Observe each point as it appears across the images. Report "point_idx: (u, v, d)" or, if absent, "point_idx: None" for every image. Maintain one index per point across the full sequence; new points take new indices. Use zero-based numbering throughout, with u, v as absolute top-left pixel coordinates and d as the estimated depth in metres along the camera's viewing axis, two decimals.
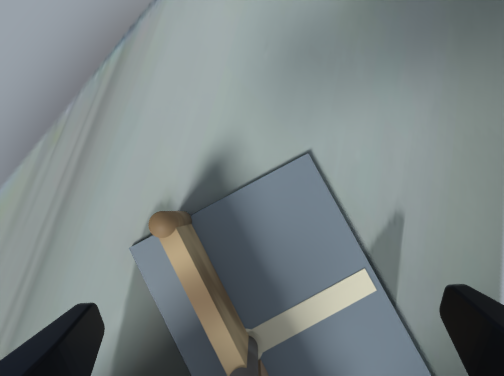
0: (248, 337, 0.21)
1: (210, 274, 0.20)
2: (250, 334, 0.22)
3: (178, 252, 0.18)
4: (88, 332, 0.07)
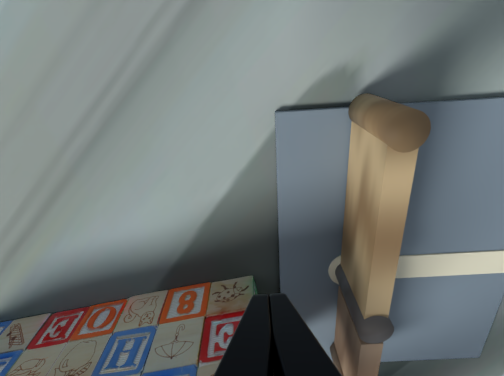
0: None
1: None
2: None
3: (400, 178, 0.12)
4: None
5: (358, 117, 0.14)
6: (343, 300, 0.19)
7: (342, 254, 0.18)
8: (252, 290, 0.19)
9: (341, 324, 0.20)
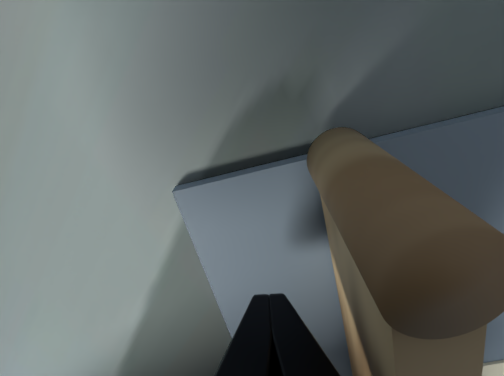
0: None
1: None
2: None
3: None
4: None
5: (320, 192, 0.06)
6: None
7: None
8: None
9: None
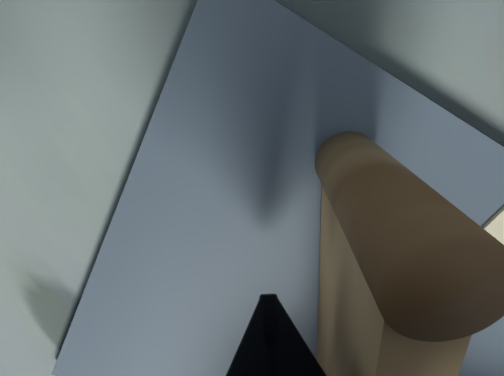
0: None
1: None
2: None
3: None
4: None
5: (327, 189, 0.06)
6: None
7: None
8: None
9: None
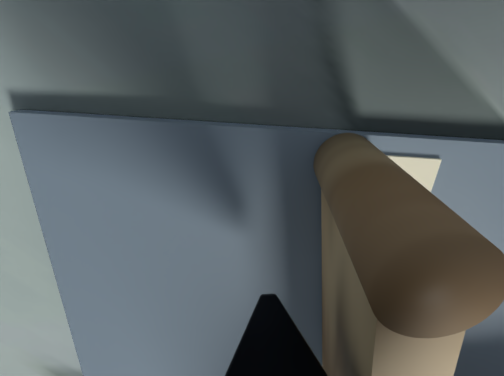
0: None
1: None
2: None
3: None
4: None
5: (324, 191, 0.06)
6: None
7: None
8: None
9: None
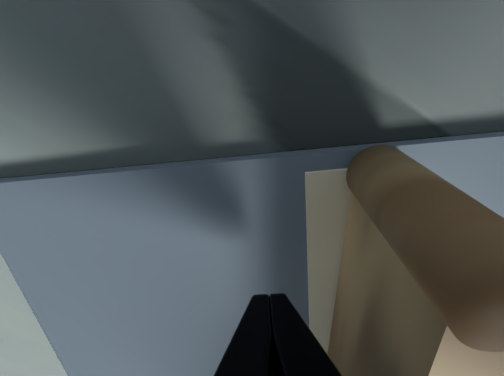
0: None
1: None
2: None
3: None
4: None
5: (366, 200, 0.06)
6: None
7: None
8: None
9: None
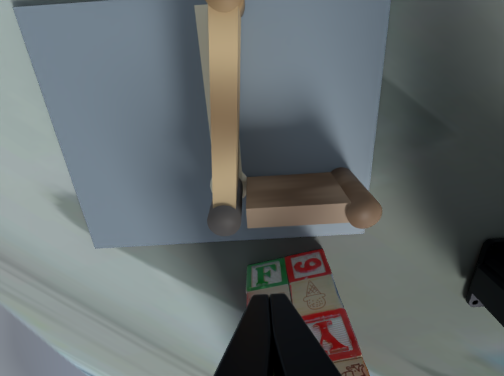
0: (238, 179, 0.19)
1: None
2: None
3: (225, 44, 0.12)
4: None
5: None
6: None
7: None
8: (246, 278, 0.22)
9: None
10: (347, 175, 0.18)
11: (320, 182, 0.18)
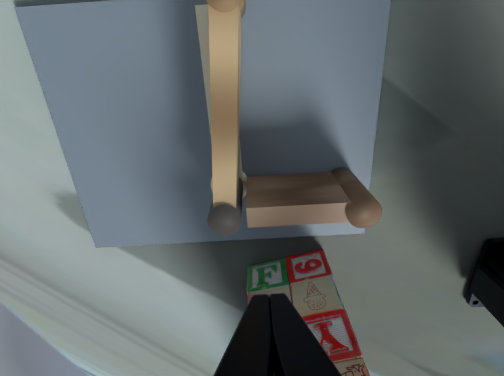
0: (238, 178, 0.19)
1: None
2: None
3: (225, 43, 0.12)
4: None
5: None
6: None
7: None
8: (247, 279, 0.22)
9: None
10: (347, 174, 0.18)
11: (320, 182, 0.18)
